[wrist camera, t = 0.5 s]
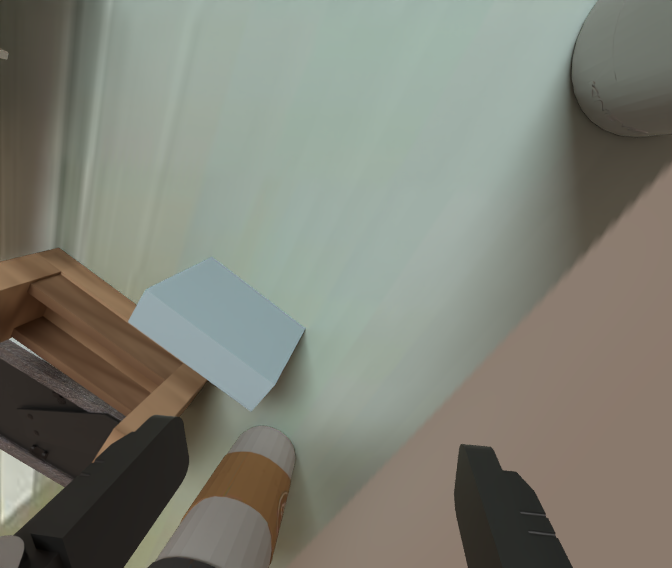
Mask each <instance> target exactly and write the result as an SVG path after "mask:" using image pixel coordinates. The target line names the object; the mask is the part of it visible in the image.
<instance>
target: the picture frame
mask: <svg viewBox="0 0 672 568" xmlns="http://www.w3.org/2000/svg"><path fill="white" fill-rule="evenodd" d="M125 417H126V416H125V415H123V414H122V413H120V412H119V411H117V410H116V409H115V408H113V407H112V406H110V405H109V404H107V403H106V402H105V401H103V400H102V399H100V398H99V397H97V396H96V395H94V394H93V393H92V392H90V391H89V390H87V389H86V388H84V387H83V386H82V385H80V384H79V383H77V382H76V381H74V380H73V379H72V378H70V377H69V376H67V375H66V374H64V373H62V372H61V371H59V370H58V369H56V368H54V367H53V366H51V365H49V364H48V363H46V362H45V361H43V360H41V359H40V358H38V357H36V356H35V355H33V354H32V353H30V352H28V351H27V350H25V349H23V348H22V347H20V346H19V345H17V344H15V343H14V342H12V341H10V340H9V339H8V340H5V341H3V342H1V343H0V449H1V450H3V451H5V452H6V453H8V454H10V455H11V456H13V457H15V458H16V459H18V460H20V461H21V462H23V463H25V464H26V465H28V466H30V467H32V468H33V469H35V470H37V471H38V472H40V473H42V474H43V475H45V476H47V477H48V478H50V479H52V480H53V481H55V482H57V483H59V484H60V485H62V486H64V487H66V486H67V485H68V484H69V483H70V482H71V481H72V480H73V479H75V478H76V477H77V476H80V474H81V472H82V471H83V470H84V469H85V468H86V467H87V466H88V465H90V464H91V463H92V462H93V460H94V459H95V457H96V455H97V454H98V452H99V451H100V449H101V448H102V446H103V445H104V443H105V442H106V440H107V438H108V437H109V435H110V434H111V432H112V431H113V429H114V428H115V427H116V426H117V425H118V424H119V423H120V422H121V421H122V420H123V419H124V418H125Z"/></svg>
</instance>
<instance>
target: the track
mask: <svg viewBox="0 0 672 568" xmlns="http://www.w3.org/2000/svg"><path fill="white" fill-rule="evenodd" d="M136 306H137V305H136V304H135V303H133V302H132V301H131V300H129V299H128V298H127V297H125V296H124V295H122V294H121V293H120V292H118V291H117V290H116V289H114V288H113V287H112V286H110V285H109V284H107V283H106V282H105V281H103V280H102V279H101V278H99V277H98V276H97V275H95V274H94V273H92V272H91V271H90V270H88V269H87V268H86V267H84V266H83V265H82V264H80V263H79V262H77V261H76V260H75V259H73V258H72V257H71V256H69V255H68V254H67V253H65V252H64V251H63V250H61V249H60V248H55V249H51V250H47V251H43V252H39V253H35V254H30V255H26V256H22V257H18V258H14V259H10V260H5V261H1V262H0V343H1V342H3V341H5V340H8V339H10V338H12V337H13V338H14V339H16V340H17V341H18V342H20V343H21V344H23V345H24V346H26V347H27V348H28V349H30V350H31V351H33V352H34V353H36V354H37V355H39V356H40V357H41V358H43V359H44V360H46V361H47V362H49V363H50V364H51V365H53V366H54V367H56V368H57V369H59V370H60V371H61V372H63V373H64V374H66V375H67V376H69V377H70V378H72V379H73V380H74V381H76V382H77V383H79V384H80V385H82V386H83V387H84V388H86V389H87V390H89V391H90V392H92V393H93V394H94V395H96V396H97V397H99V398H100V399H102V400H103V401H105V402H106V403H107V404H109V405H110V406H112V407H113V408H115V409H116V410H117V411H119V412H120V413H122V414H123V415H125V416H126V417H125V418H124V419H123V420H122V421H121V422H120V423H119V424H118V425H117V426H116V427H115V428H114V429H113V431H112V432H111V434H110V435H109V437H108V438H107V440H106V442H105V443H104V445H103V446H102V448H101V449H100V451H99V452H98V454H97V455H96V457H95V459H96V458H97V457H98V456H99V455H100V454H101V453H102V452H103V451H104V450H106V449H107V448H108V447H109V446H110V445H111V444H112V443H114V442H116V441H117V440H119V439H120V438H122V437H124V436H125V435H127V434H129V433H130V432H135V431H136V430H137V429H138V428H139V427H140V426H141V425H142V424H143V423H144V422H145V421H146V420H147V419H148V418H150V417H151V416H153V415H164V416H175V417H179V416H180V415H181V414H182V413H183V412H184V411H185V409H186V408H187V407H188V406H189V404H190V403H191V402H192V401H193V399H194V398H195V397H196V395H197V394H198V393H199V391H200V390H201V389H202V387H203V386H204V385H205V383H206V382H207V381H208V380H207V379H206V378H204V377H203V376H201V375H200V374H199V373H197V372H196V371H194V370H193V369H192V368H190V367H189V366H188V365H186V364H185V363H183V362H182V361H181V360H179V359H178V358H177V357H175V356H174V355H172V354H171V353H170V352H168V351H167V350H166V349H164V348H163V347H161V346H160V345H159V344H157V343H156V342H155V341H153V340H152V339H150V338H149V337H148V336H146V335H145V334H144V333H142V332H141V331H139V330H138V329H137V328H135V327H134V326H133V325H131V324H130V323H128V320H129V319H130V317H131V315H132V313H133V311H134V310H135V308H136ZM95 459H94V460H93V462H92V463H94V461H95Z"/></svg>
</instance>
